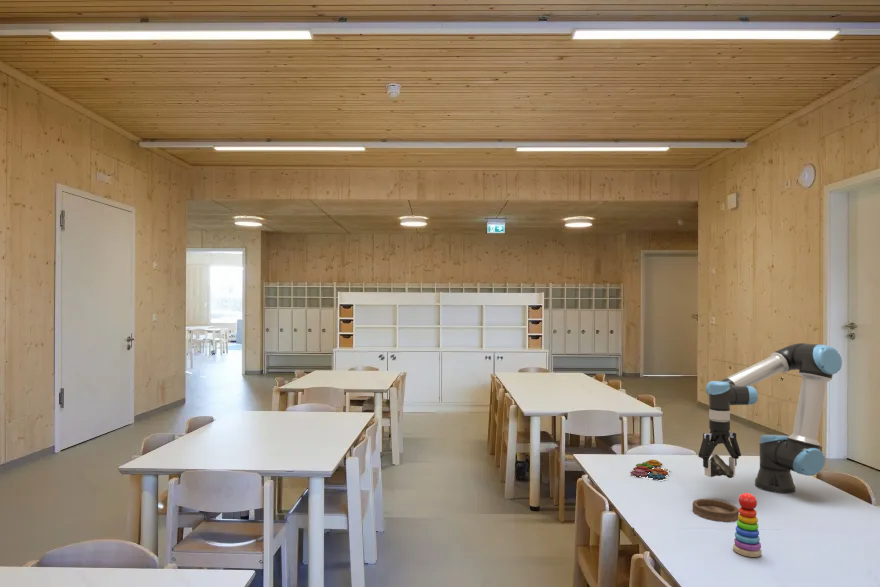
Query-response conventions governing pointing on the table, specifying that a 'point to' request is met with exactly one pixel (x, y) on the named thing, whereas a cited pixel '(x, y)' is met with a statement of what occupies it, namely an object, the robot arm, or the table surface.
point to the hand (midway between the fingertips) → (720, 474)
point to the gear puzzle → (650, 470)
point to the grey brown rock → (720, 467)
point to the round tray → (715, 510)
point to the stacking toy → (747, 528)
